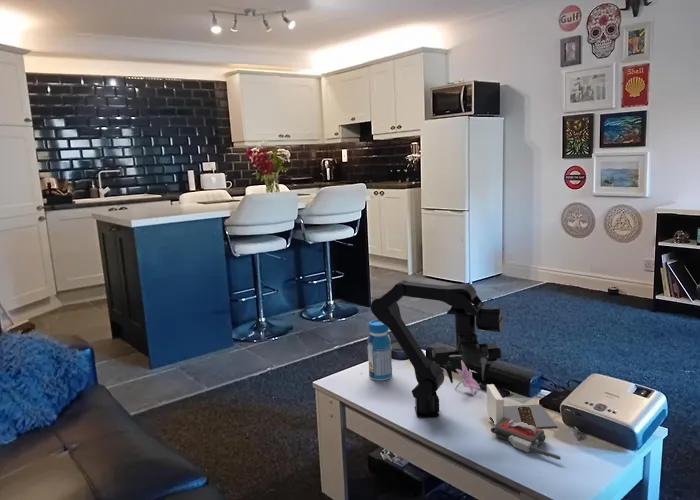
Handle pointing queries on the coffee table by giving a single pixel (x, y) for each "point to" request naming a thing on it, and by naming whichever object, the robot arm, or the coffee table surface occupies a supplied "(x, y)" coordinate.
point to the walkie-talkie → (521, 435)
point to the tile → (494, 404)
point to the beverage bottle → (379, 351)
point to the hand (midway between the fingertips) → (467, 381)
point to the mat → (538, 412)
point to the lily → (467, 378)
